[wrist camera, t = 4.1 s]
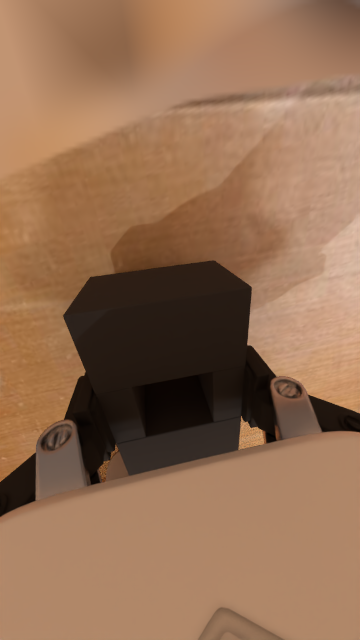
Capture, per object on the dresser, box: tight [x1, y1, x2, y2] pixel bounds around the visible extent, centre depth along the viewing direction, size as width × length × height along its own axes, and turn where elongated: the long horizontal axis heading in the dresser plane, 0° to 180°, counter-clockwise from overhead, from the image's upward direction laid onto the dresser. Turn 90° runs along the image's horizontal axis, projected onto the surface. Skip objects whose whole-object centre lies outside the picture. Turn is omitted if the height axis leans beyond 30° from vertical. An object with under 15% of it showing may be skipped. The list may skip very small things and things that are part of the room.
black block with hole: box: [63, 260, 252, 476], centre depth 11 cm, size 10×6×4 cm, turn 5°
